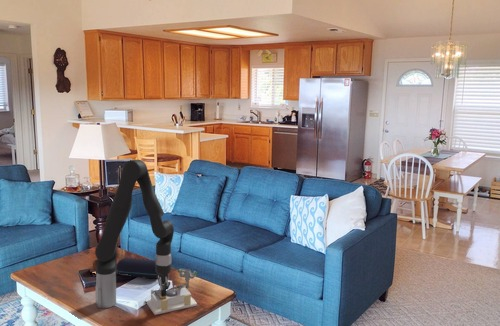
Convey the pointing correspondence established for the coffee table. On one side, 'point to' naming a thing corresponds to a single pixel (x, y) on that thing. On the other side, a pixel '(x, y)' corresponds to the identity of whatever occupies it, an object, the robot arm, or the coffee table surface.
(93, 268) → the cup and saucer
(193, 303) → the base
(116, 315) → the coffee table surface
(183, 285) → the strap far
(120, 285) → the coffee table surface
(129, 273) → the portable speaker
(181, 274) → the mechanical component
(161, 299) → the strap near
